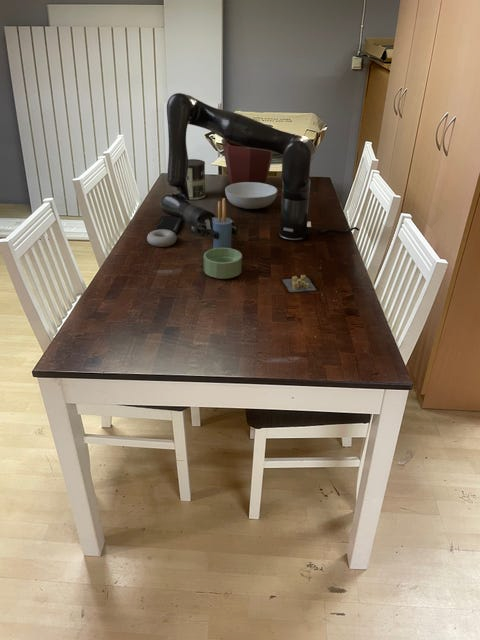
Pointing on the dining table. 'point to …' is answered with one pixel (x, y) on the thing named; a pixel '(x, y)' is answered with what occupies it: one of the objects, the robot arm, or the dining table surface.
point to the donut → (161, 238)
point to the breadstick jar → (222, 228)
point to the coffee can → (196, 179)
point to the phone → (168, 223)
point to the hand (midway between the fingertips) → (226, 233)
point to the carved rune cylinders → (298, 284)
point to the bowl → (222, 263)
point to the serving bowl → (250, 194)
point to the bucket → (246, 163)
